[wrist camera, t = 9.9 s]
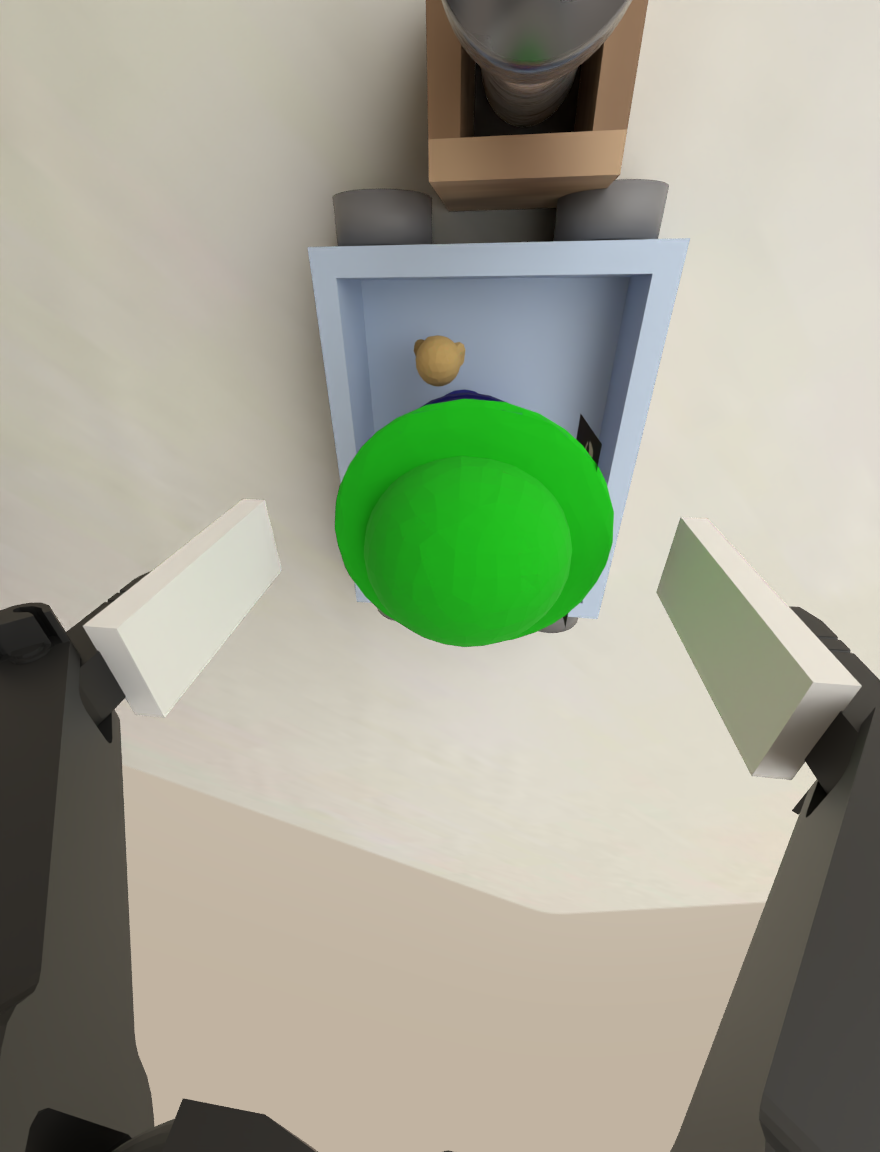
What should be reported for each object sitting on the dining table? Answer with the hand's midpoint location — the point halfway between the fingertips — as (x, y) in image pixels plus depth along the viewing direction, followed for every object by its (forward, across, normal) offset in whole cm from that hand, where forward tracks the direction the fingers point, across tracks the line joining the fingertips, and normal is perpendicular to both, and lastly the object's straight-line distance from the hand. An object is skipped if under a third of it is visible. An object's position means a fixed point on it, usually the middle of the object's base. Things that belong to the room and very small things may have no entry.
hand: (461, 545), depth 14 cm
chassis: (+12, 0, 0) cm, 12 cm away
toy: (+11, 0, 0) cm, 11 cm away
